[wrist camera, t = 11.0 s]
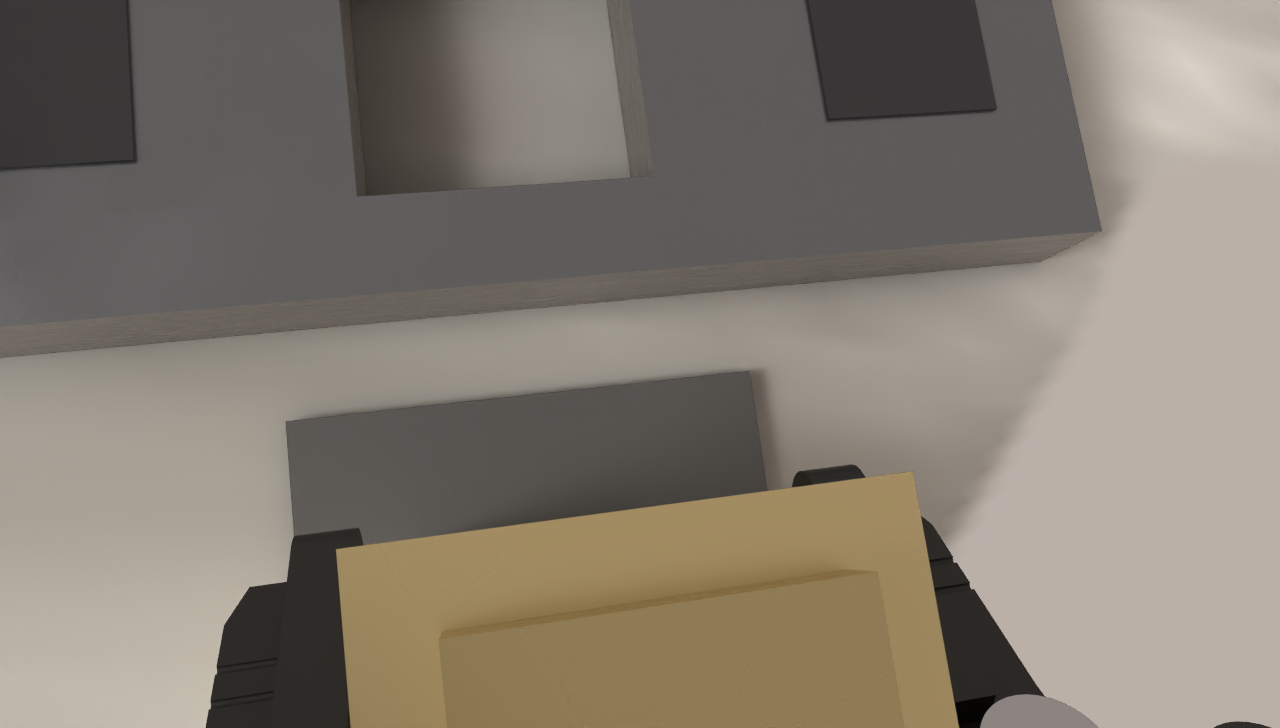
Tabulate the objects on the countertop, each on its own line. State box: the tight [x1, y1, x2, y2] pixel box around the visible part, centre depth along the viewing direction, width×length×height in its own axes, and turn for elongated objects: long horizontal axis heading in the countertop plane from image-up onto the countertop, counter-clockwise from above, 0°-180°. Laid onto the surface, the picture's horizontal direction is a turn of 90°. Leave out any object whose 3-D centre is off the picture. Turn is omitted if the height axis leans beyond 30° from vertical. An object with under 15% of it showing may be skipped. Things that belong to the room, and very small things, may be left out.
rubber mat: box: [286, 371, 767, 545], centre depth 20 cm, size 10×10×1 cm
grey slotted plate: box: [0, 0, 1102, 357], centre depth 21 cm, size 26×10×2 cm, turn 98°
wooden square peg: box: [336, 471, 959, 728], centre depth 13 cm, size 5×5×14 cm
